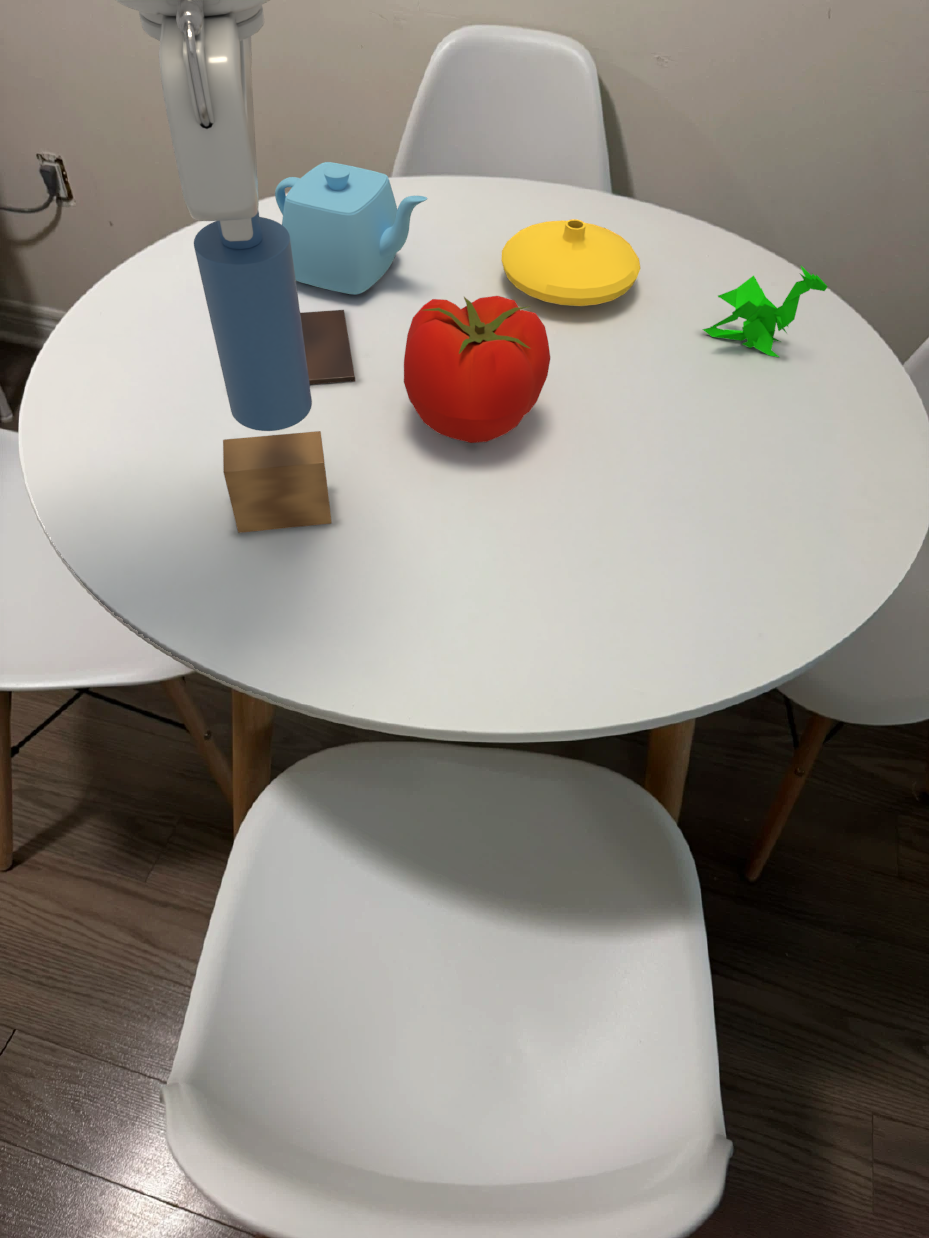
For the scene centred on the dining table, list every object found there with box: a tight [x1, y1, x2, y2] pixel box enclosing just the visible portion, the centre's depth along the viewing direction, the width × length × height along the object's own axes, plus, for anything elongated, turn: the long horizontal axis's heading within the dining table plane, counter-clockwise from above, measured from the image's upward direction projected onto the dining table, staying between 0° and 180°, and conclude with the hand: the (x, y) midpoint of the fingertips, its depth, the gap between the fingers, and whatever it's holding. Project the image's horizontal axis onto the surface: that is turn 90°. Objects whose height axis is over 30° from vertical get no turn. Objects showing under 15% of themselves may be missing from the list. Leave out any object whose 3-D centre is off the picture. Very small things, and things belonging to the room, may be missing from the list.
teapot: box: [274, 161, 428, 296], centre depth 97 cm, size 12×18×12 cm
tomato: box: [403, 295, 551, 444], centre depth 81 cm, size 13×14×12 cm
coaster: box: [300, 309, 356, 386], centre depth 91 cm, size 12×12×1 cm
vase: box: [500, 218, 641, 307], centre depth 99 cm, size 16×16×7 cm
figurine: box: [702, 265, 829, 358], centre depth 92 cm, size 6×12×9 cm, turn 73°
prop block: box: [222, 430, 332, 534], centre depth 74 cm, size 8×4×7 cm, turn 100°
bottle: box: [193, 210, 313, 432], centre depth 59 cm, size 6×13×18 cm, turn 10°
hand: (238, 218), depth 55 cm, fingers closed on bottle, 2 cm apart
